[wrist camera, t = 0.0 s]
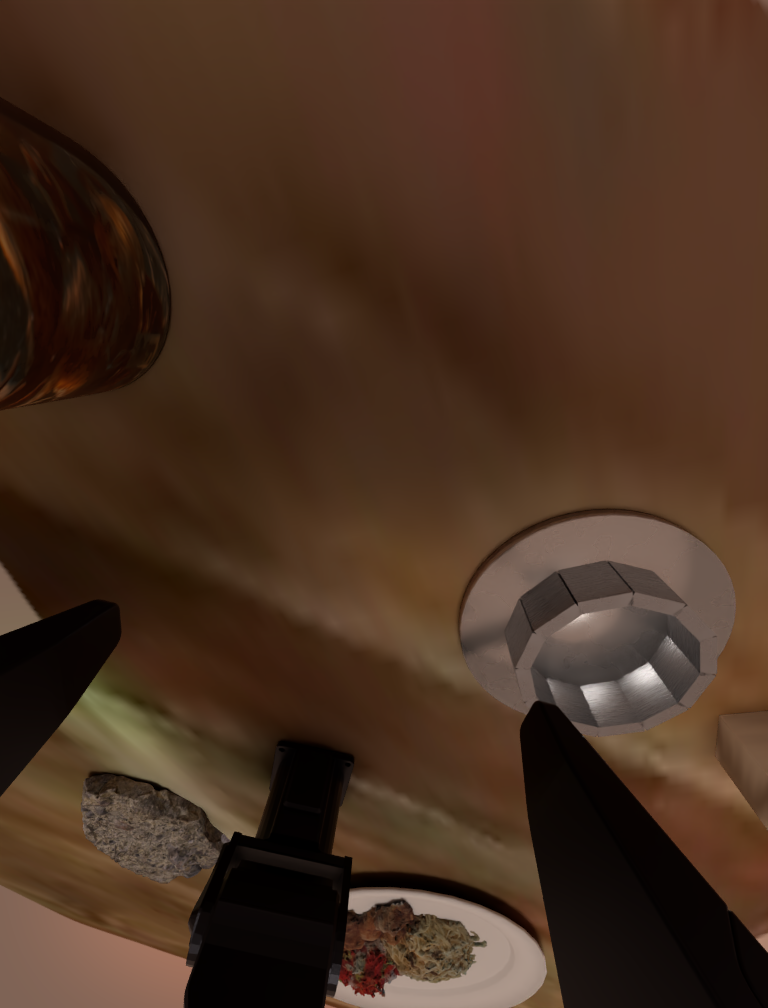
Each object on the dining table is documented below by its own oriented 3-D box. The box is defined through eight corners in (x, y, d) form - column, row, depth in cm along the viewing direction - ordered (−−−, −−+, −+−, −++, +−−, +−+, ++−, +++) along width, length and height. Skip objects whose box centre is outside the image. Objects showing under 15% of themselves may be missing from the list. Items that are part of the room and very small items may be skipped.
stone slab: (154, 750, 35) (130, 786, 32) (253, 855, 40) (241, 894, 37) (56, 775, 38) (26, 810, 35) (161, 870, 43) (142, 907, 40)
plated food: (600, 931, 40) (615, 981, 37) (451, 1014, 52) (453, 1057, 49) (343, 832, 37) (336, 877, 34) (245, 944, 48) (233, 986, 45)
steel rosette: (643, 730, 28) (677, 789, 24) (431, 682, 28) (433, 734, 24) (782, 545, 22) (856, 587, 18) (507, 480, 21) (525, 509, 18)
